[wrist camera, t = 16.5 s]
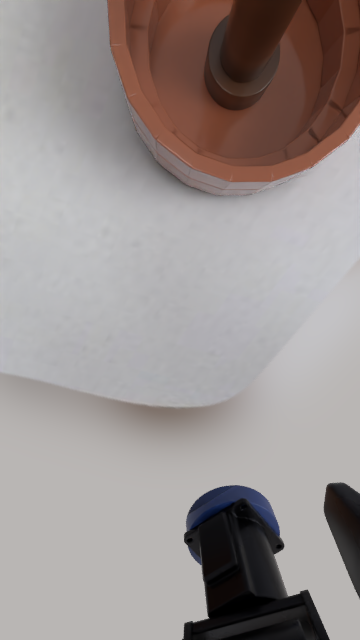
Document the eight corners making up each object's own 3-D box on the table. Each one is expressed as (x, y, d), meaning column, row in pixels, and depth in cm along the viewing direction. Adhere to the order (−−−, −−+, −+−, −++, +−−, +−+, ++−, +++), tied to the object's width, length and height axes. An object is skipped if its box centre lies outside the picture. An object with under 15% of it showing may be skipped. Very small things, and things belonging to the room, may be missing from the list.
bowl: (380, 106, 17) (453, 59, 13) (208, 238, 18) (221, 237, 14) (268, -130, 14) (312, -295, 10) (77, 48, 16) (41, -27, 11)
